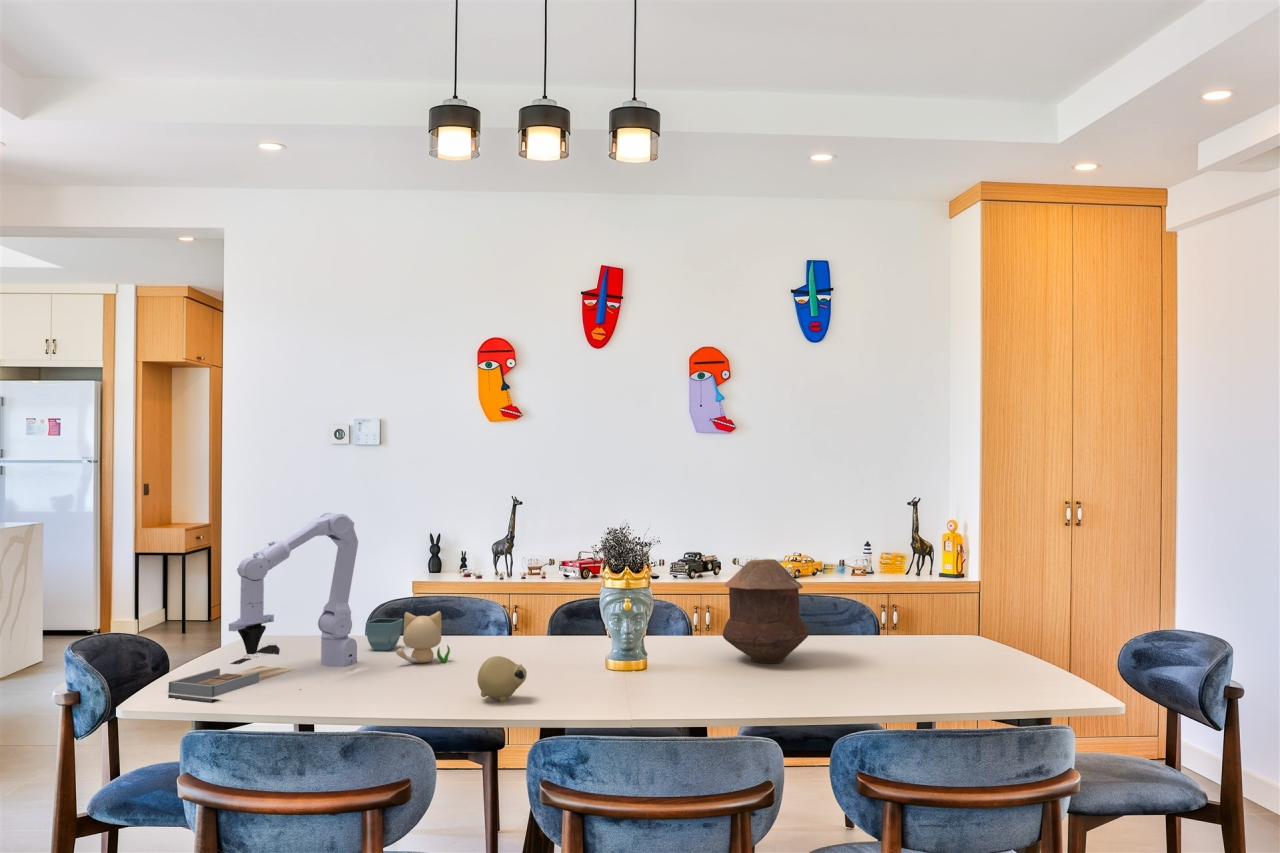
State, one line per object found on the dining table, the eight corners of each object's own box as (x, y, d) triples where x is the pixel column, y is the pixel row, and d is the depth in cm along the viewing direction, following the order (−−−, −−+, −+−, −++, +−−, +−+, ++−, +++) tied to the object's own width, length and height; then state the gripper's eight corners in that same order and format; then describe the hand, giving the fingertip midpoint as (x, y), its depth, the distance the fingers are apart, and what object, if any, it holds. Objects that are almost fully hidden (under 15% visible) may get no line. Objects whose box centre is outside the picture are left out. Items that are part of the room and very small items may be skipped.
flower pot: (376, 646, 283) (377, 617, 284) (402, 646, 282) (403, 618, 283) (364, 651, 275) (365, 622, 275) (391, 652, 273) (391, 623, 274)
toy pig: (524, 705, 214) (524, 660, 214) (474, 705, 214) (474, 660, 214) (528, 694, 224) (528, 652, 224) (480, 694, 224) (481, 652, 224)
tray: (258, 687, 230) (259, 672, 230) (211, 703, 215) (212, 686, 215) (217, 683, 234) (217, 668, 234) (168, 698, 219) (168, 682, 219)
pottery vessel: (802, 673, 247) (801, 565, 248) (713, 666, 255) (713, 562, 257) (814, 654, 271) (814, 556, 273) (733, 649, 280) (732, 554, 281)
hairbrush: (211, 664, 247) (260, 641, 272) (211, 677, 247) (260, 653, 272) (239, 665, 246) (286, 642, 270) (239, 678, 246) (286, 654, 270)
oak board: (295, 674, 244) (295, 669, 244) (256, 687, 230) (256, 681, 230) (260, 671, 248) (260, 665, 248) (219, 683, 234) (219, 678, 234)
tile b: (227, 691, 224) (227, 679, 224) (212, 696, 219) (212, 684, 219) (211, 690, 225) (211, 678, 225) (196, 695, 221) (196, 683, 221)
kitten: (450, 657, 266) (451, 607, 267) (449, 665, 256) (449, 613, 257) (399, 659, 264) (400, 609, 264) (396, 667, 254) (396, 614, 255)
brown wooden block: (241, 686, 230) (241, 674, 230) (227, 691, 225) (227, 679, 225) (225, 685, 231) (225, 673, 231) (211, 689, 226) (211, 677, 226)
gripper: (259, 597, 245) (258, 647, 245) (219, 606, 232) (218, 658, 231) (280, 599, 243) (279, 648, 243) (241, 607, 229) (240, 660, 229)
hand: (251, 653), depth 237 cm, fingers closed
